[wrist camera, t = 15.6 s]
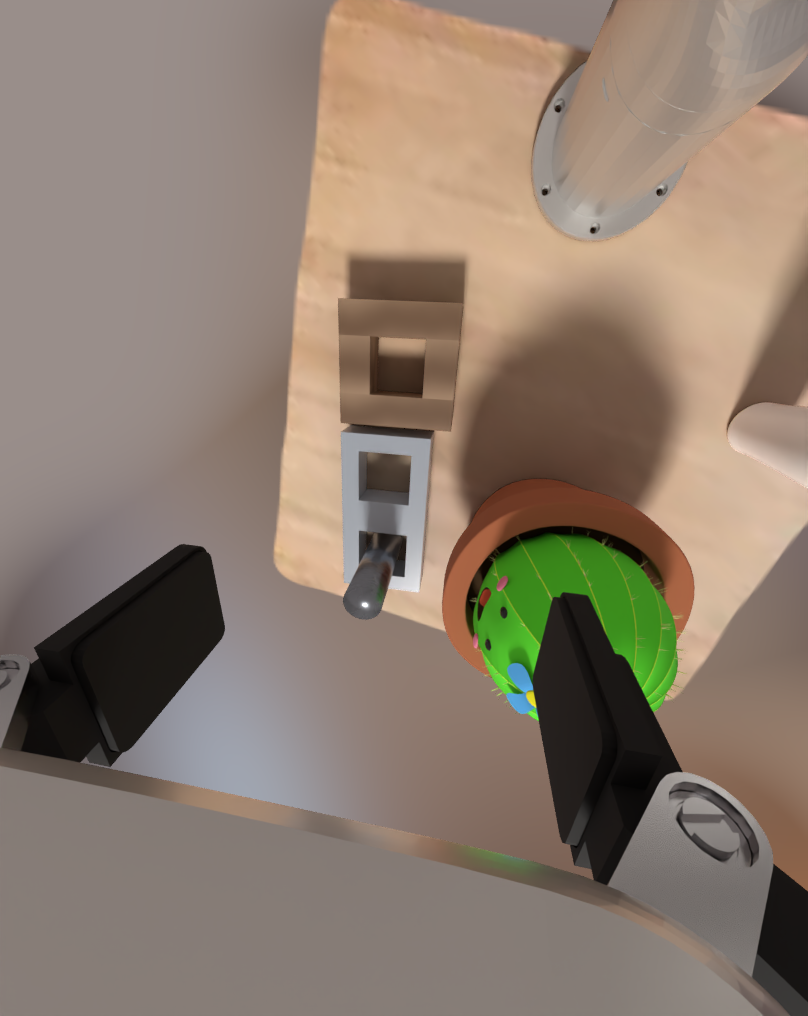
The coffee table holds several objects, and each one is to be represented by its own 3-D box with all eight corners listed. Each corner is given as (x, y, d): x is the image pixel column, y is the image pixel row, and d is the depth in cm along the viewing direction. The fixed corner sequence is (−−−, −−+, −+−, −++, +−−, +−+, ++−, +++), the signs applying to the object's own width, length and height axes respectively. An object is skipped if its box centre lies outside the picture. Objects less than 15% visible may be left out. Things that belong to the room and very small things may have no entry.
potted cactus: (667, 490, 43) (894, 654, 20) (581, 631, 52) (669, 853, 29) (481, 434, 44) (499, 533, 21) (428, 584, 53) (400, 765, 30)
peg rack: (350, 425, 45) (340, 431, 42) (433, 431, 44) (430, 439, 41) (352, 566, 53) (344, 582, 50) (422, 575, 52) (419, 592, 49)
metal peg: (373, 523, 50) (342, 584, 38) (403, 527, 50) (382, 589, 37) (373, 550, 52) (343, 616, 39) (402, 553, 51) (381, 622, 39)
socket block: (349, 302, 40) (338, 298, 36) (463, 306, 39) (462, 303, 35) (350, 416, 45) (340, 422, 41) (451, 424, 44) (450, 431, 40)
